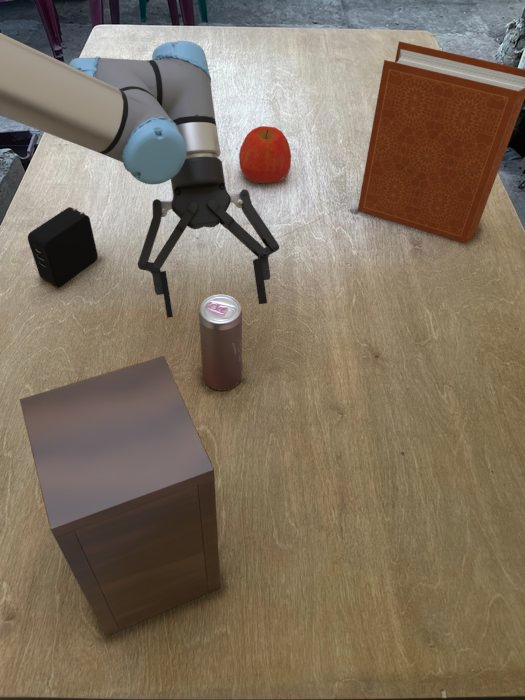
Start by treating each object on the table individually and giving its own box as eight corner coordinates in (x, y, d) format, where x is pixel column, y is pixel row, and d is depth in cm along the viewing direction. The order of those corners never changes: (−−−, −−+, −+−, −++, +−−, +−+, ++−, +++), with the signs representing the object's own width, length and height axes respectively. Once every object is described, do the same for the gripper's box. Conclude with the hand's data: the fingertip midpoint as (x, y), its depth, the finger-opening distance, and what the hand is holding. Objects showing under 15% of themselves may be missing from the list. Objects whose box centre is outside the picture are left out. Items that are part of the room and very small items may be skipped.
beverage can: (214, 356, 99) (211, 287, 87) (248, 370, 97) (249, 301, 86) (195, 383, 95) (190, 314, 84) (230, 397, 93) (229, 330, 82)
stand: (77, 529, 79) (19, 398, 58) (182, 490, 83) (163, 355, 62) (106, 636, 71) (50, 529, 50) (220, 587, 75) (214, 469, 54)
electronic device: (40, 279, 109) (25, 234, 101) (82, 250, 114) (71, 204, 107) (57, 289, 107) (43, 244, 100) (98, 259, 113) (89, 213, 105)
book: (357, 210, 125) (384, 60, 102) (370, 189, 130) (399, 41, 107) (470, 245, 119) (525, 93, 96) (480, 221, 124) (534, 71, 101)
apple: (250, 195, 127) (251, 148, 119) (230, 167, 133) (230, 121, 125) (298, 184, 130) (302, 137, 122) (276, 157, 136) (278, 111, 128)
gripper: (275, 158, 94) (294, 298, 96) (106, 176, 90) (130, 322, 91) (286, 145, 86) (306, 297, 88) (103, 164, 82) (129, 323, 84)
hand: (217, 310), depth 90 cm, fingers open, 13 cm apart
